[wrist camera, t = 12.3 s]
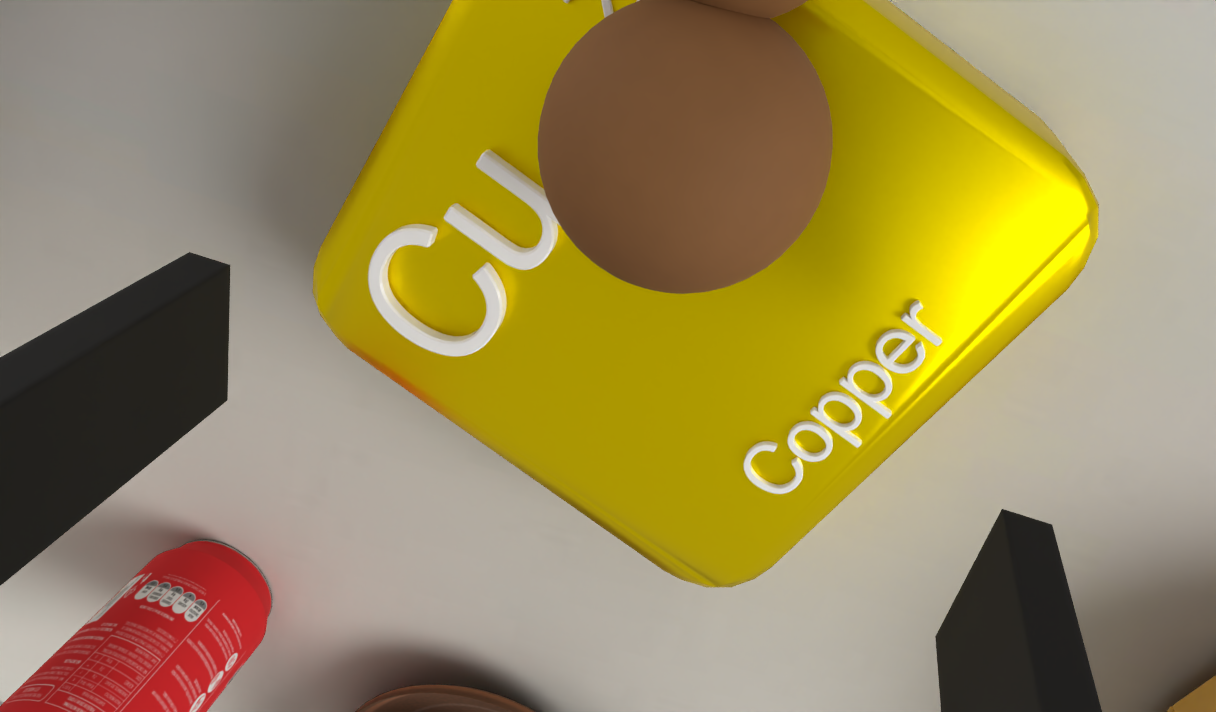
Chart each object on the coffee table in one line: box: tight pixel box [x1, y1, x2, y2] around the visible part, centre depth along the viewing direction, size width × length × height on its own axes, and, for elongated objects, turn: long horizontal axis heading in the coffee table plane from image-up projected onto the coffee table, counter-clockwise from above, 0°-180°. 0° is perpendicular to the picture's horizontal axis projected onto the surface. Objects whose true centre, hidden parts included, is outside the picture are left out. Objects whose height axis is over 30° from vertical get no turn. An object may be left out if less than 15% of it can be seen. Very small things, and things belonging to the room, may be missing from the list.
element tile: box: [313, 0, 1099, 587], centre depth 25 cm, size 15×15×5 cm
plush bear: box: [538, 0, 833, 294], centre depth 18 cm, size 6×6×10 cm
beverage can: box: [0, 540, 272, 712], centre depth 33 cm, size 5×5×12 cm
